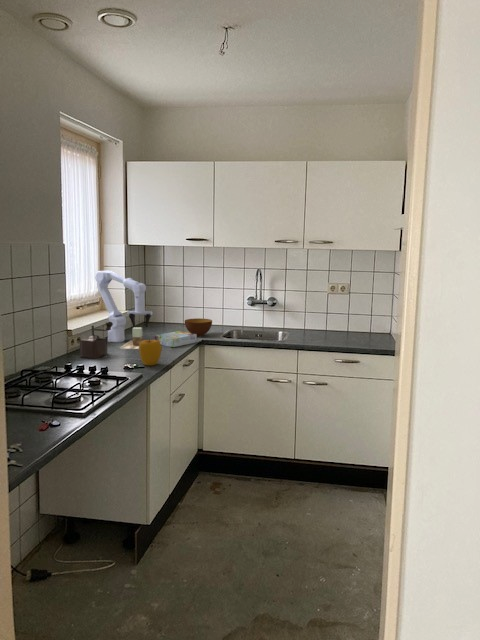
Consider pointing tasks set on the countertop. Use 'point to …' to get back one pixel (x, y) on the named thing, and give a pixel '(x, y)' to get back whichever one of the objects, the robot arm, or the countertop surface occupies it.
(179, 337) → the snack box
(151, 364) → the yellow bell pepper
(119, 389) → the countertop surface
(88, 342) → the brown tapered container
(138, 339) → the walnut block
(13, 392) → the countertop surface
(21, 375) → the countertop surface
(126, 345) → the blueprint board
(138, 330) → the sage block
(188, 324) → the bowl
